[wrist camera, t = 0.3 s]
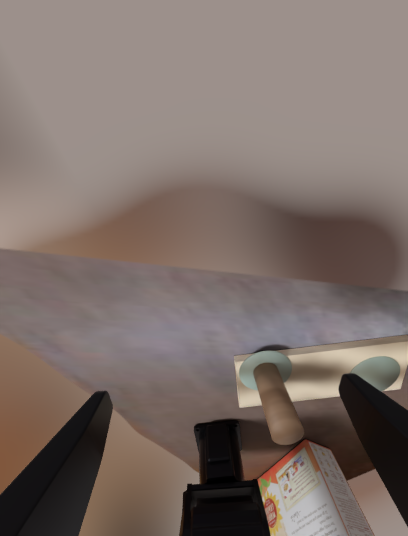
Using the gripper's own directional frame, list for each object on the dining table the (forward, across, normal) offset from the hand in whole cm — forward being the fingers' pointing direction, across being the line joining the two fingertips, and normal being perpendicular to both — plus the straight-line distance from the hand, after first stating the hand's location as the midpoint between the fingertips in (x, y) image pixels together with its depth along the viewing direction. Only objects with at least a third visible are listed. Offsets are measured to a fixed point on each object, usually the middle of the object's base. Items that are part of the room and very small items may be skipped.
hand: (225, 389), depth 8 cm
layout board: (+14, -13, +17) cm, 25 cm away
